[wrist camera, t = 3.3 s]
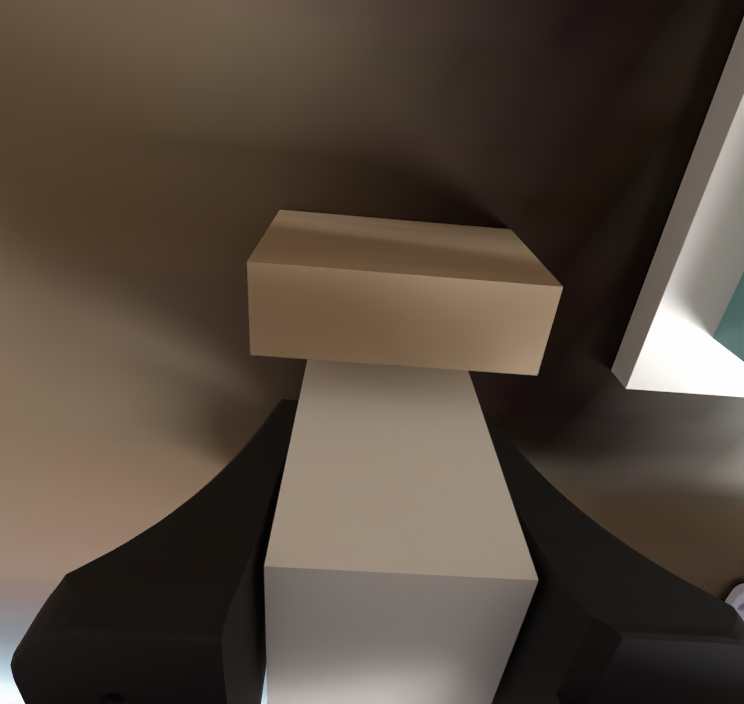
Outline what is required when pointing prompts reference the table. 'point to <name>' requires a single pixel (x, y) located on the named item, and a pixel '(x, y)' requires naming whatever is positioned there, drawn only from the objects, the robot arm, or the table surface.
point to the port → (698, 265)
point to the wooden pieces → (399, 294)
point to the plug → (392, 544)
